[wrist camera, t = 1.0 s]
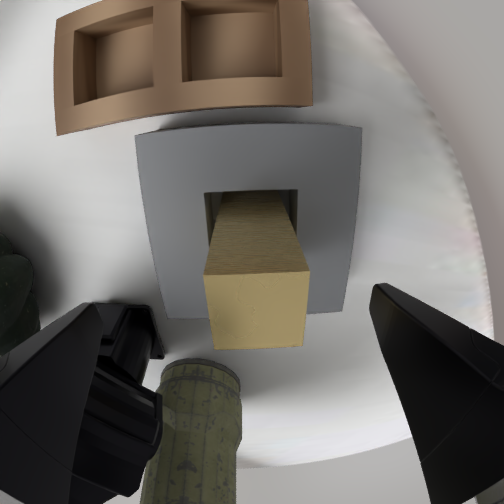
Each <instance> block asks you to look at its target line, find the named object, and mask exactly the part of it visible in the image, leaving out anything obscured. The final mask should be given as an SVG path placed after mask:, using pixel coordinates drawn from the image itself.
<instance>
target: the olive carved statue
mask: <svg viewBox="0 0 504 504" xmlns="http://www.w3.org/2000/svg"><path fill="white" fill-rule="evenodd" d="M156 392H158V393H160V394H162V395H163V434H162V439H161V443H160V445H159V448H158V450H157V452H156V454H155V455H154V456H153V458H152V459H151V460H149V461H148V462H147V464H146V469H145V474H144V481H143V487H142V493H141V500H140V504H236V451H237V449H238V447H239V444H240V442H241V440H242V404H241V399H240V381H239V379H238V377H237V376H236V375H235V373H234V372H232V371H231V370H230V369H228V368H227V367H225V366H223V365H221V364H218V363H216V362H213V361H208V360H203V359H183V360H178V361H174V362H173V363H171V364H169V365H167V366H166V367H165V369H164V370H163V372H162V374H161V382H160V386H159V387H158V389H157V390H156ZM156 392H155V393H156Z"/></svg>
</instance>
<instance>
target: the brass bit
mask: <svg viewBox="0 0 504 504" xmlns="http://www.w3.org/2000/svg"><path fill="white" fill-rule="evenodd" d="M203 279H204V286H205V293H206V300H207V307H208V313H209V319H210V326H211V332H212V338H213V344H214V350H234V349H262V348H280V347H295V346H303V338H304V329H305V320H306V311H307V301H308V290H309V279H310V270H309V267H308V264H307V262H306V259H305V257H304V254H303V252H302V249H301V246H300V244H299V241H298V239H297V236H296V234H295V232H294V229H293V227H292V224H291V222H290V219H289V217H288V214H287V212H286V210H285V207H284V205H283V202H282V200H281V198H280V195H279V193H278V191H277V190H246V191H224V192H223V195H222V199H221V203H220V207H219V211H218V215H217V219H216V223H215V227H214V231H213V235H212V239H211V243H210V248H209V252H208V256H207V260H206V265H205V269H204V274H203Z"/></svg>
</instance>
